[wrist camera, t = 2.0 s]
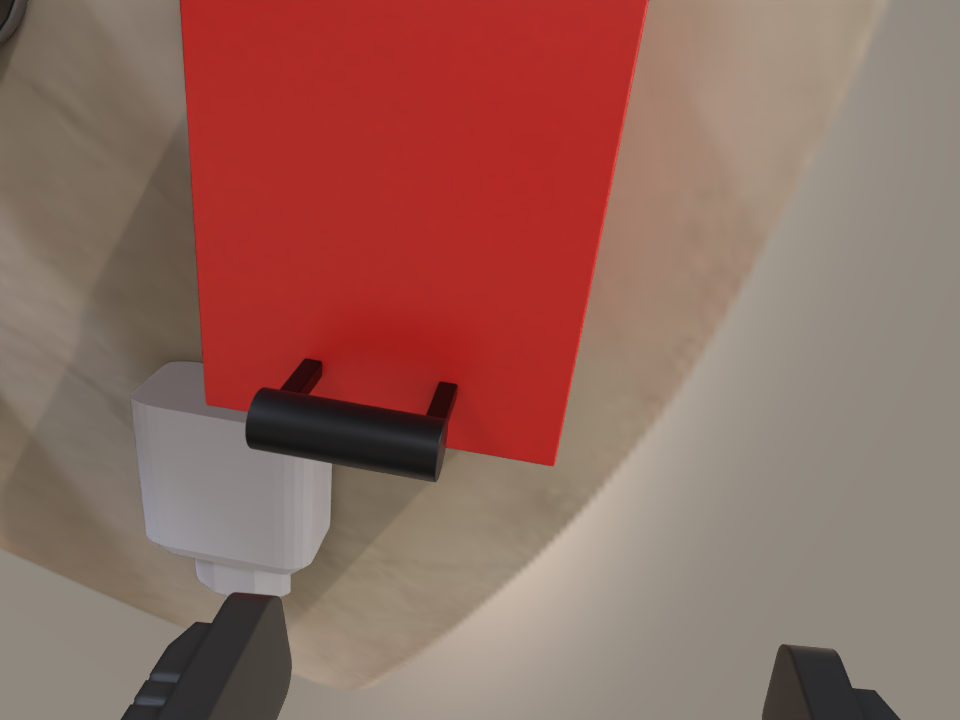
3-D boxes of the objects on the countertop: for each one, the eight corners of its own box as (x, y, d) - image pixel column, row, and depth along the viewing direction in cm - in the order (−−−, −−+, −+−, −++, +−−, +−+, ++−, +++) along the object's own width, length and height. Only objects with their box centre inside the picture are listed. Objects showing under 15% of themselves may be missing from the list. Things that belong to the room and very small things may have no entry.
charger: (190, 567, 45) (172, 356, 39) (332, 595, 45) (339, 385, 38) (149, 625, 41) (121, 399, 34) (305, 656, 40) (308, 433, 34)
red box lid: (555, 455, 28) (547, 555, 23) (214, 395, 28) (134, 478, 23) (653, -28, 20) (673, -39, 15) (186, -89, 21) (61, -118, 16)
